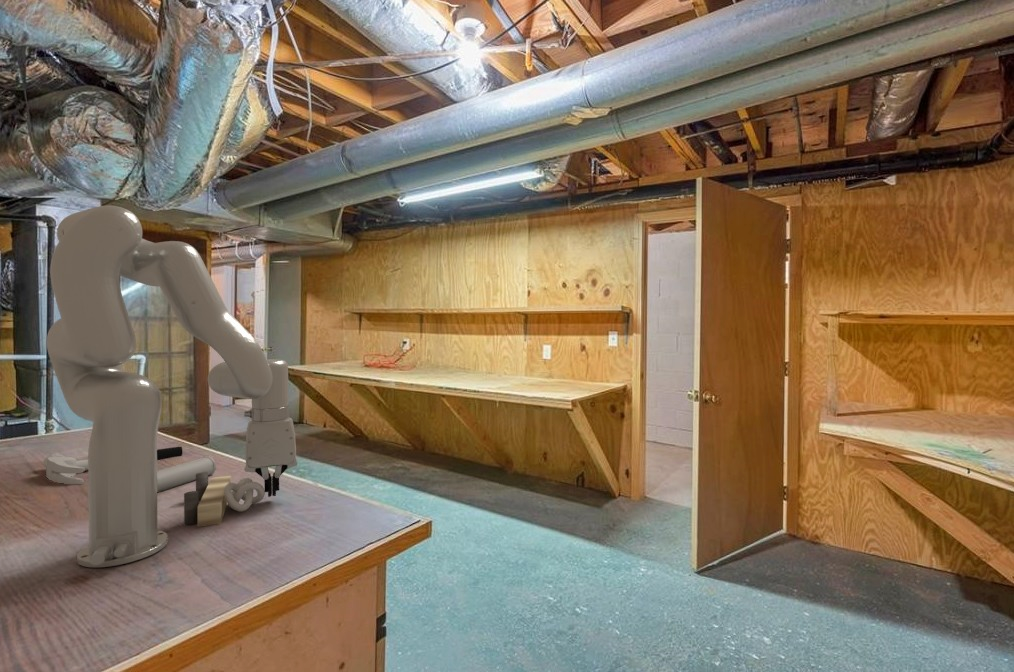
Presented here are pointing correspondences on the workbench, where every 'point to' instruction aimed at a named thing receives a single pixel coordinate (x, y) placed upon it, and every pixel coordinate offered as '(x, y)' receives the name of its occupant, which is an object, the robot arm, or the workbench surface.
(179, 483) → the tube
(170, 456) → the claw hammer
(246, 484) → the knot
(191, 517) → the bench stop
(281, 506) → the workbench surface
